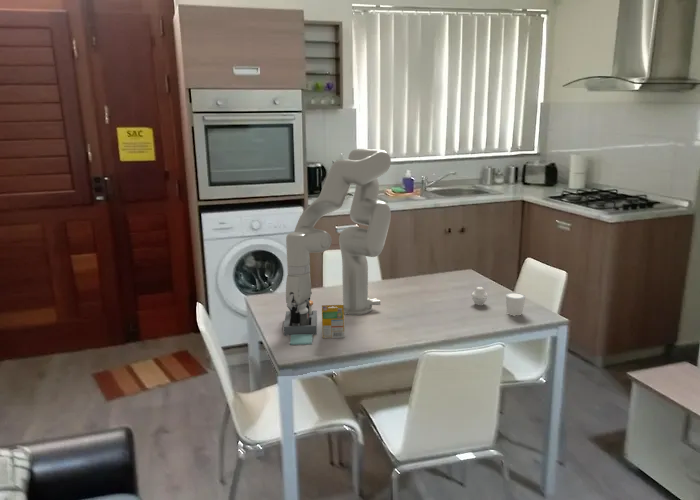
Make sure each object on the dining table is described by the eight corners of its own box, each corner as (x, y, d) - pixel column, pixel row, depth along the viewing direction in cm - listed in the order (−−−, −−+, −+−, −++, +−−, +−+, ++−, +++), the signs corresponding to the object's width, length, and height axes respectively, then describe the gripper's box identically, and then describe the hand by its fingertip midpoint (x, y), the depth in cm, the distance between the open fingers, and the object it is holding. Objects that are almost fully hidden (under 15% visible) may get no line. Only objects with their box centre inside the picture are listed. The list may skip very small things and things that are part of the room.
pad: (312, 335, 188) (312, 334, 188) (311, 344, 181) (311, 342, 181) (291, 336, 187) (291, 334, 187) (290, 344, 181) (290, 343, 180)
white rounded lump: (469, 305, 214) (470, 288, 213) (472, 300, 220) (473, 283, 218) (486, 307, 212) (487, 290, 210) (488, 302, 217) (489, 285, 216)
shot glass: (525, 311, 207) (526, 293, 206) (522, 317, 201) (524, 299, 200) (506, 309, 210) (507, 291, 208) (503, 315, 204) (504, 297, 202)
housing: (317, 318, 203) (316, 310, 203) (316, 334, 189) (316, 326, 188) (286, 319, 203) (286, 311, 202) (283, 335, 188) (283, 327, 188)
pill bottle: (309, 326, 195) (309, 299, 193) (308, 332, 190) (307, 305, 188) (293, 326, 196) (292, 299, 193) (291, 332, 190) (290, 305, 188)
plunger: (313, 317, 202) (313, 300, 201) (313, 321, 199) (312, 303, 197) (303, 317, 202) (303, 300, 201) (303, 321, 199) (302, 303, 197)
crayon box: (344, 334, 188) (343, 301, 186) (344, 338, 186) (344, 304, 183) (322, 335, 188) (321, 302, 185) (322, 338, 185) (321, 305, 182)
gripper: (301, 261, 197) (302, 310, 201) (275, 274, 181) (277, 326, 186) (320, 263, 194) (321, 313, 198) (295, 277, 178) (297, 330, 183)
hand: (300, 319), depth 192 cm, fingers closed on pill bottle, 5 cm apart
